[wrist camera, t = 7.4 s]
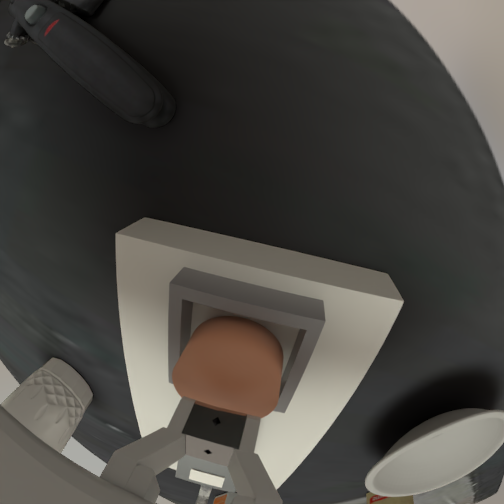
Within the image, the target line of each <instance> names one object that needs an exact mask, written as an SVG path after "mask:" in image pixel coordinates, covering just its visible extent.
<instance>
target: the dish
mask: <svg viewBox="0 0 504 504" xmlns="http://www.w3.org/2000/svg"><path fill="white" fill-rule="evenodd" d="M503 443H504V411H503V410H485V409H478V408H467V409H459V410H453V411H450V412H446V413H443V414H440V415H438V416H435V417H433V418H431V419H429V420H427V421H425V422H423V423H421V424H420V425H418V426H416V427H415V428H413V429H412V430H410V431H409V432H408V433H406V434H405V435H404V436H403V437H402V438H400V439H399V440H398V441H397V442H396V443H395V444H394V445H393V446H392V447H391V448H390V449H389V451H388V452H387V453H386V454H385V455H384V457H383V458H382V459H381V460H380V461H379V462H378V463H377V464H375V465H374V466H373V467H372V469H371V470H370V471H369V472H368V474H367V476H366V479H365V486H366V488H367V489H368V490H369V491H370V492H372V493H374V494H376V495H380V496H387V497H401V496H410V495H415V494H420V493H424V492H428V491H431V490H434V489H437V488H440V487H442V486H445V485H447V484H449V483H451V482H454V481H456V480H458V479H459V478H461V477H463V476H465V475H466V474H468V473H470V472H471V471H473V470H474V469H476V468H477V467H479V466H480V465H481V464H483V463H484V462H485V461H486V460H487V459H489V458H490V457H491V456H492V455H493V454H494V453H495V452H496V451H497V450H498V449H499V448H500V446H501V445H502V444H503Z"/></svg>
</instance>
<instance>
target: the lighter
mask: <svg viewBox="0 0 504 504" xmlns="http://www.w3.org/2000/svg"><path fill="white" fill-rule="evenodd" d="M366 497H367V504H414V502H413V495H410V496H401V497H387V496H380V495H376V494H374V493H372V492H369V493H367V494H366Z"/></svg>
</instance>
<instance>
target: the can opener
mask: <svg viewBox="0 0 504 504" xmlns="http://www.w3.org/2000/svg"><path fill="white" fill-rule="evenodd" d="M103 1H104V0H11V2H10V4H9V14H11V15H12V16H13V17H14V18H15V20H14V22H13V25H12V28H11V30H10V32H9V33H8V34H7V36H8V38H7V39H6V40H5V42H4V43H5V45H8V46H11V47H12V48H13V47H15V46H22V45H24V44H26V43H27V41H28V40H29V41H31V42H32V43H34V44H37V45H38V46H39V47H41V48H42V49H43V50H44V51H45V52H46V53H47V54H48V55H49V56H50V57H51V58H52V59H53V60H54V61H55V62H56V63H57V64H58V65H59V66H60V67H61V68H62V69H64V71H65V72H67V73H68V74H69V75H70V76H71V77H72V78H73V79H74V80H75V81H77V82H78V83H79V84H80V85H82V86H83V87H84V88H85V89H86V90H87V91H88V92H89V93H91V94H92V95H93V96H94V97H96V98H97V99H98V100H99V101H101V102H102V103H103V104H104V105H106V106H107V107H108V108H109V109H111V110H112V111H113V112H115V113H116V114H117V115H119V116H120V117H121V118H123V119H124V120H126V121H127V122H131V123H134V124H141V123H142V124H143V125H145V126H147V127H151V128H158V127H161V126H164V125H165V124H167V123H168V122H169V121H170V120H171V119H172V117H173V115H174V113H175V109H176V103H175V100H174V98H173V97H172V95H171V94H170V93H169V92H168V91H167V90H166V88H165V87H164V86H163V85H162V84H161V83H160V82H159V81H158V80H156V78H155V77H154V76H153V75H152V74H150V73H149V72H148V71H147V70H146V69H145V68H144V67H143V66H142V65H141V64H139V63H138V62H137V61H136V60H135V59H134V58H132V57H131V56H130V55H129V54H127V53H126V52H125V51H124V50H122V49H121V48H120V47H118V46H117V45H116V44H114V43H113V42H112V41H110V40H109V39H108V38H107V37H106V36H104V35H103V34H102V33H100V32H99V31H98V30H96V29H95V28H94V27H92V26H91V25H89V24H88V23H87V22H85V21H84V20H82V19H80V18H79V17H78V16H77V14H78V13H79V14H81V15H84V16H91V15H93V13H94V12H95V11H96V9H97V8H98V7H99V6H100V5H101V3H102V2H103Z"/></svg>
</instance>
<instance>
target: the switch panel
mask: <svg viewBox="0 0 504 504" xmlns="http://www.w3.org/2000/svg"><path fill="white" fill-rule="evenodd" d="M116 273H117V291H118V304H119V315H120V324H121V333H122V341H123V348H124V355H125V361H126V367H127V373H128V379H129V384H130V389H131V394H132V399H133V404H134V408H135V413H136V417H137V421H138V425H139V429H140V433H141V436H142V438H143V437H145V436H147V435H149V434H151V433H153V432H155V431H156V430H158V429H160V428H162V427H165V428H167V427H168V425H169V422H170V420H171V418H172V416H173V414H174V412H175V410H176V408H177V406H178V404H179V402H180V400H181V396H180V395H179V394H178V392H177V391H176V389H175V387H174V384H173V381H172V372H173V369H174V367H175V365H176V363H177V361H178V359H179V358H180V356H181V354H182V352H183V350H184V349H185V347H186V345H187V343H188V341H189V340H190V338H191V336H192V334H193V332H194V331H195V329H196V328H197V327H198V326H199V325H200V324H201V323H203V322H204V321H206V320H208V319H211V318H214V317H219V316H237V317H242V318H246V319H249V320H252V321H254V322H257V323H259V324H260V325H262V326H264V327H265V328H267V329H268V330H269V331H270V332H271V333H273V335H274V336H275V337H276V338H277V339H278V341H279V342H280V345H281V347H282V350H283V355H284V359H283V368H282V376H281V385H280V392H279V400H278V404H277V406H276V407H275V409H274V410H273V411H272V412H271V413H270V414H269V415H267V416H265V417H263V418H261V421H260V426H259V431H258V436H257V441H256V446H255V451H254V453H256V454H258V455H259V457H260V459H261V461H262V463H263V465H264V467H265V469H266V471H267V473H268V475H269V477H270V479H271V481H272V483H273V485H274V487H275V488H276V490H277V489H278V488H279V487H280V486H281V484H282V483H283V482H284V481H285V480H286V479H287V478H288V477H289V476H290V475H291V474H292V473H293V471H294V470H295V469H296V468H297V467H298V466H299V465H300V464H301V462H302V461H303V460H304V459H305V458H306V456H307V455H308V454H309V453H310V452H311V450H312V449H313V448H314V447H315V446H316V444H317V443H318V442H319V440H320V439H321V438H322V437H323V435H324V434H325V433H326V431H327V430H328V429H329V427H330V426H331V425H332V423H333V422H334V421H335V419H336V418H337V416H338V415H339V414H340V412H341V411H342V409H343V408H344V406H345V405H346V404H347V402H348V401H349V399H350V398H351V396H352V395H353V393H354V392H355V390H356V388H357V387H358V385H359V384H360V382H361V381H362V379H363V377H364V376H365V374H366V372H367V371H368V369H369V367H370V366H371V364H372V362H373V361H374V359H375V357H376V355H377V354H378V352H379V350H380V348H381V346H382V345H383V343H384V341H385V339H386V337H387V335H388V333H389V331H390V329H391V327H392V325H393V323H394V321H395V319H396V317H397V315H398V313H399V311H400V309H401V307H402V305H403V303H404V300H403V299H402V297H401V295H400V293H399V292H398V290H397V288H396V287H395V285H394V283H393V281H392V280H391V278H390V276H389V275H388V274H387V273H383V272H379V271H375V270H371V269H367V268H363V267H358V266H354V265H350V264H346V263H342V262H338V261H334V260H329V259H325V258H321V257H317V256H313V255H308V254H304V253H300V252H296V251H291V250H287V249H283V248H279V247H274V246H270V245H266V244H262V243H257V242H253V241H249V240H244V239H240V238H235V237H231V236H227V235H222V234H218V233H214V232H209V231H205V230H200V229H196V228H191V227H187V226H183V225H178V224H174V223H169V222H165V221H160V220H156V219H151V218H146V217H144V218H142V219H140V220H139V221H137V222H135V223H133V224H131V225H129V226H127V227H126V228H124V229H122V230H120V231H118V232H117V233H116ZM177 464H178V461H177V462H175V463H174V464H172V465H171V466H169V468H172V469H175V470H177Z"/></svg>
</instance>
